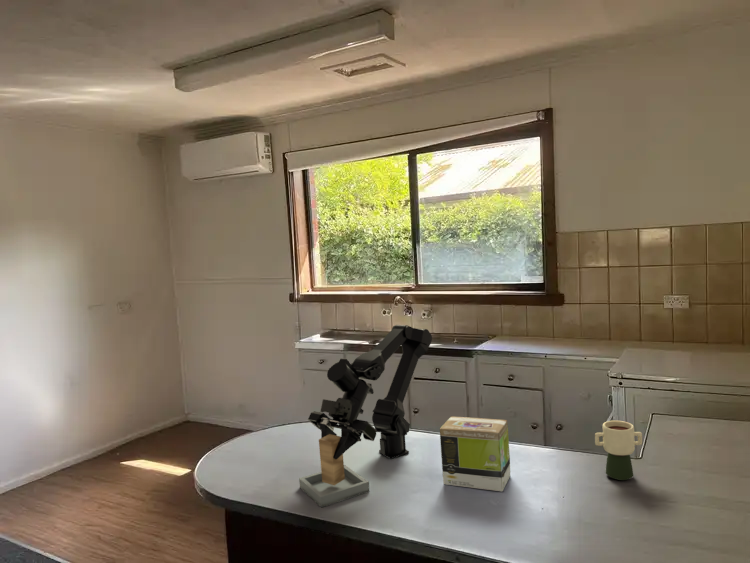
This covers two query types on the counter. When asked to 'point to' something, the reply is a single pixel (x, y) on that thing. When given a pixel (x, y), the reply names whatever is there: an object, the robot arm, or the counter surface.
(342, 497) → the tray
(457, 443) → the tea box
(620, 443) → the character mug
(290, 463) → the counter surface
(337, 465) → the oak post
